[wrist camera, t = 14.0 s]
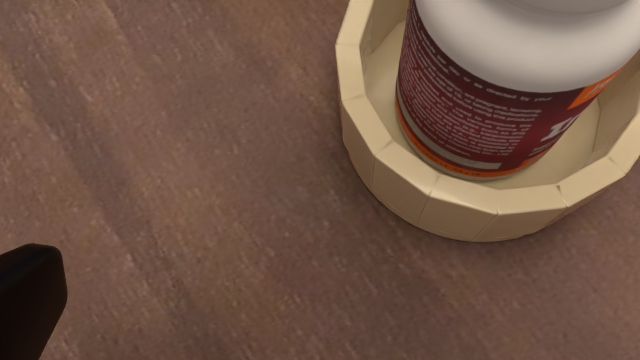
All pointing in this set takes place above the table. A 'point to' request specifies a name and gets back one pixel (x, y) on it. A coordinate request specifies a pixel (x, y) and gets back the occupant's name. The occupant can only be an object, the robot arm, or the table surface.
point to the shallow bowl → (459, 193)
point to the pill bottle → (505, 76)
